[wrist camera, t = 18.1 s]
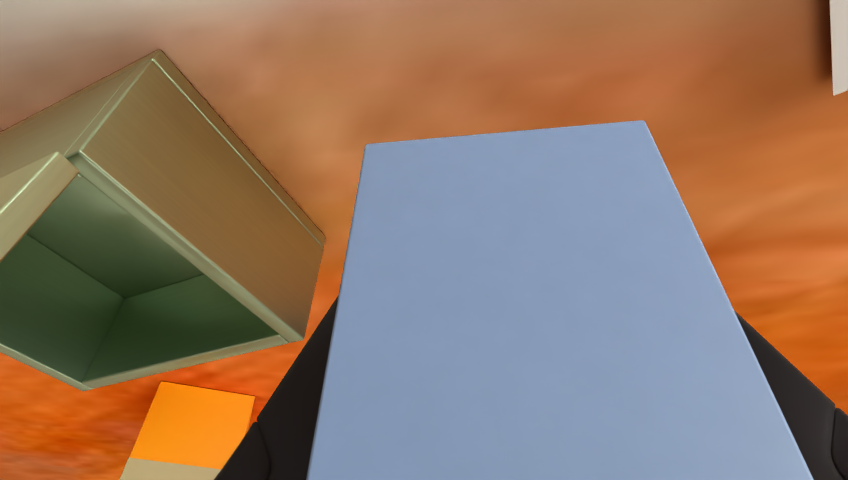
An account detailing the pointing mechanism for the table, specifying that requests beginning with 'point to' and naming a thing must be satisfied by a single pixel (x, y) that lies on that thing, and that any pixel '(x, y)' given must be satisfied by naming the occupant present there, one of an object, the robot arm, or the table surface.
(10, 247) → the bin lid
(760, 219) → the table surface
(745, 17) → the table surface
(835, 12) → the paper stack
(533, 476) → the blue-grey block
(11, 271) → the waste bin
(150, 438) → the orange juice
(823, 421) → the robot arm
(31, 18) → the table surface
